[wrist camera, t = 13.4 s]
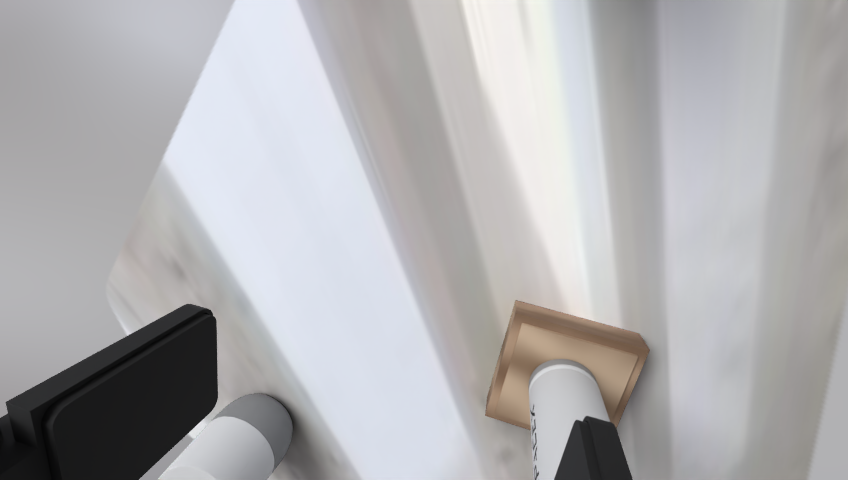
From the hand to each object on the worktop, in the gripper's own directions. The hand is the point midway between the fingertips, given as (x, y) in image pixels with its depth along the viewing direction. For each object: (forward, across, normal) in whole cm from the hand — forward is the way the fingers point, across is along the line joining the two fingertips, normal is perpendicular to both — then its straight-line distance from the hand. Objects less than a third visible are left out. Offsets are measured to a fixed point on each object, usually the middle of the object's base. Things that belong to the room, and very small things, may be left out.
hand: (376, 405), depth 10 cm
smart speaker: (+29, +21, +34) cm, 49 cm away
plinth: (+29, -11, +16) cm, 35 cm away
